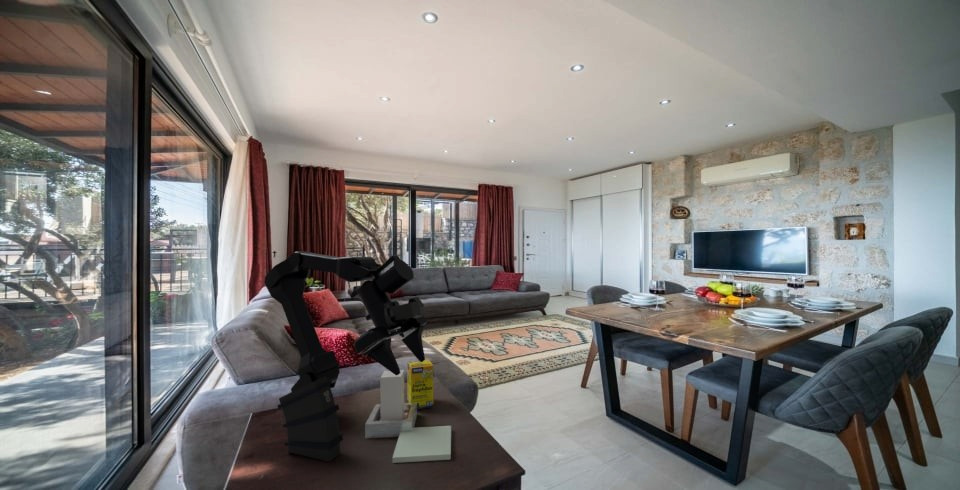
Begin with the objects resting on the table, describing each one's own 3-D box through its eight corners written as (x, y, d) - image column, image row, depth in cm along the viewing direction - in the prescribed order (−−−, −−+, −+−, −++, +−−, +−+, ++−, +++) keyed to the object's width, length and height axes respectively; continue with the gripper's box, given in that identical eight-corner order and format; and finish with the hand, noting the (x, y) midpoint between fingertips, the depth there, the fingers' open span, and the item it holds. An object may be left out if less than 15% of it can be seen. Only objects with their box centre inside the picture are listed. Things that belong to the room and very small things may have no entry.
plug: (376, 433, 75) (376, 378, 76) (382, 420, 81) (382, 369, 82) (404, 431, 76) (403, 377, 76) (407, 419, 82) (407, 368, 82)
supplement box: (411, 411, 86) (410, 368, 86) (407, 402, 91) (406, 361, 91) (434, 407, 88) (433, 364, 88) (429, 398, 93) (428, 358, 94)
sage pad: (392, 463, 64) (392, 457, 64) (401, 432, 75) (401, 428, 75) (450, 459, 65) (450, 454, 65) (451, 430, 76) (451, 425, 76)
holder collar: (365, 438, 73) (365, 424, 73) (375, 416, 83) (375, 404, 83) (412, 435, 74) (411, 421, 74) (417, 414, 84) (416, 402, 84)
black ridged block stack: (341, 457, 64) (314, 380, 66) (293, 476, 67) (269, 402, 70) (355, 446, 67) (329, 374, 70) (308, 464, 71) (285, 395, 73)
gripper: (374, 289, 65) (413, 362, 62) (426, 282, 83) (458, 338, 79) (338, 318, 69) (372, 389, 65) (395, 306, 86) (424, 361, 82)
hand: (411, 367), depth 73 cm, fingers open, 9 cm apart
